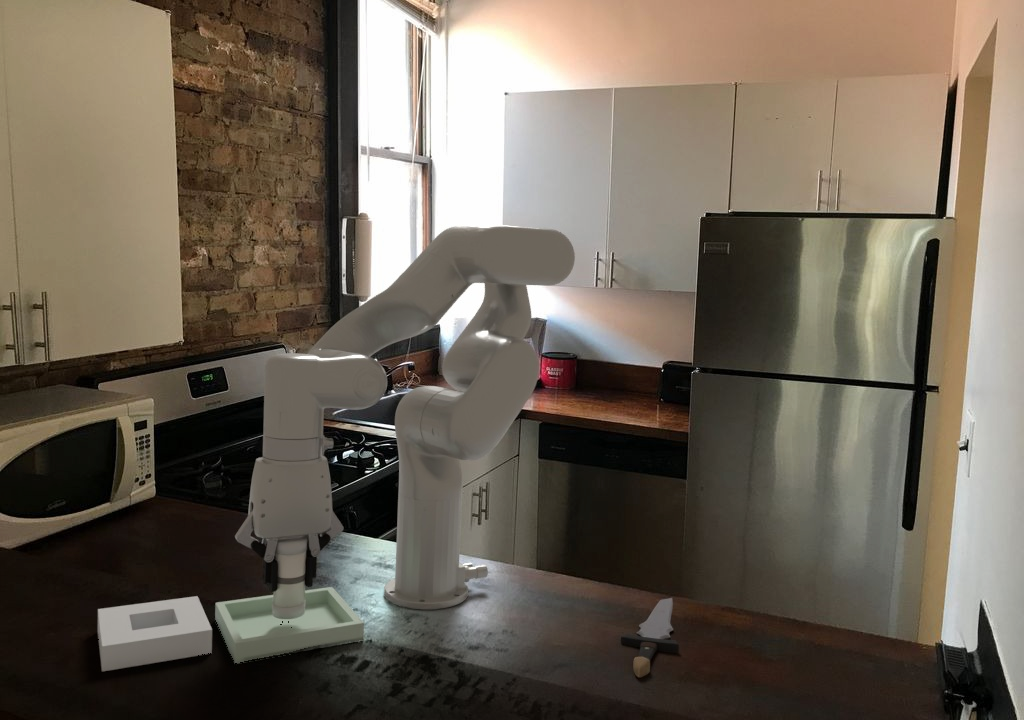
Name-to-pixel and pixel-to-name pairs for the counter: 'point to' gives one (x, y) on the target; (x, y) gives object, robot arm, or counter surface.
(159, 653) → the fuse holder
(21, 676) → the counter surface
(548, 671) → the counter surface
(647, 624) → the dagger
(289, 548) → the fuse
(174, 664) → the counter surface
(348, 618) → the parts tray
